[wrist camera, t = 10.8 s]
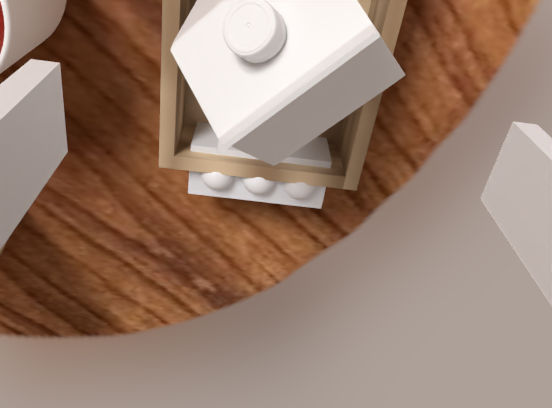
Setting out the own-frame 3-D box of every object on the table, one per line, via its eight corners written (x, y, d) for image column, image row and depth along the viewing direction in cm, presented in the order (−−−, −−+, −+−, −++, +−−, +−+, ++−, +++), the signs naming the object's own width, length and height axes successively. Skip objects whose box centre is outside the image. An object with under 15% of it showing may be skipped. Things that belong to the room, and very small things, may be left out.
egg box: (194, 167, 41) (185, 202, 37) (197, 121, 39) (188, 152, 35) (316, 181, 42) (322, 217, 38) (326, 137, 40) (333, 170, 35)
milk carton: (356, 1, 34) (431, 112, 18) (272, 66, 37) (275, 214, 21) (292, -95, 31) (316, -62, 15) (206, -18, 34) (148, 80, 18)
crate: (172, 130, 40) (158, 167, 35) (182, -142, 31) (165, -145, 26) (345, 152, 42) (356, 190, 37) (408, -104, 32) (434, -99, 27)
